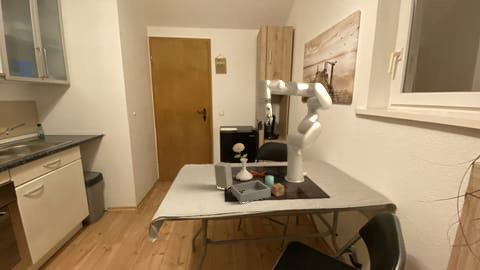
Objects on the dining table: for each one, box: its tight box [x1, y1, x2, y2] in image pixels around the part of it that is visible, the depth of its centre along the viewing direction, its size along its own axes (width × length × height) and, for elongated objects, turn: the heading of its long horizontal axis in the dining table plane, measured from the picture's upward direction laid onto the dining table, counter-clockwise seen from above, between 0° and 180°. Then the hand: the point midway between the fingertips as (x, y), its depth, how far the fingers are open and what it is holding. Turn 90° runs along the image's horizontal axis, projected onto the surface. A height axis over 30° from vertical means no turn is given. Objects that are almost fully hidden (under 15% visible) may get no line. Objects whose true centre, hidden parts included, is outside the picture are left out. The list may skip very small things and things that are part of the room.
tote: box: [230, 179, 272, 203], centre depth 119 cm, size 18×14×5 cm
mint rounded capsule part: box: [264, 175, 275, 189], centre depth 128 cm, size 5×5×7 cm
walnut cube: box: [271, 182, 285, 197], centre depth 120 cm, size 5×5×5 cm
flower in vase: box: [232, 142, 253, 181], centre depth 142 cm, size 13×11×25 cm
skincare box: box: [213, 161, 234, 189], centre depth 128 cm, size 8×7×16 cm
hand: (264, 131), depth 125 cm, fingers open, 9 cm apart
